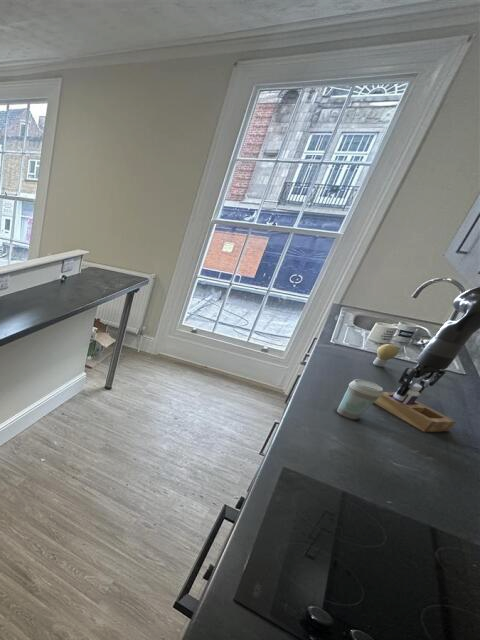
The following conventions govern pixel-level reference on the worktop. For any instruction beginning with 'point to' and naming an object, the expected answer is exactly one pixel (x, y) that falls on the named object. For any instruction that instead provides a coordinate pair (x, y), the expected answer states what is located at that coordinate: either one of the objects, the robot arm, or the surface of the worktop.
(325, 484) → the worktop surface
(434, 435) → the worktop surface
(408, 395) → the pill bottle
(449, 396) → the worktop surface
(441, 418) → the tray
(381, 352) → the light bulb
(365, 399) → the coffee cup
